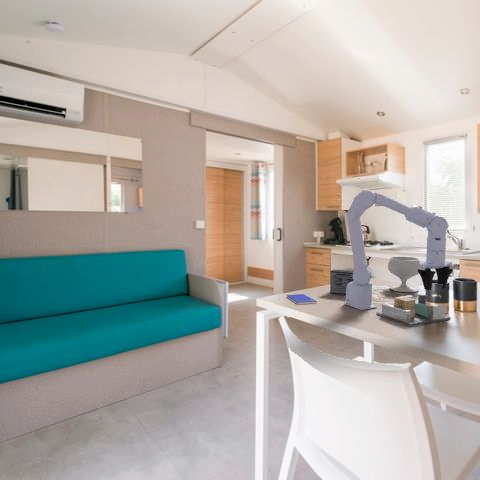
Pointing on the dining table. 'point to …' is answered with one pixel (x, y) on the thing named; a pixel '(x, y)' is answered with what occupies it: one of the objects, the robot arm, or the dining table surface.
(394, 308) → the press
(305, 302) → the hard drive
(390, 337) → the dining table surface
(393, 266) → the chalice
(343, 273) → the small box
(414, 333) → the dining table surface
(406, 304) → the block
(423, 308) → the ram
